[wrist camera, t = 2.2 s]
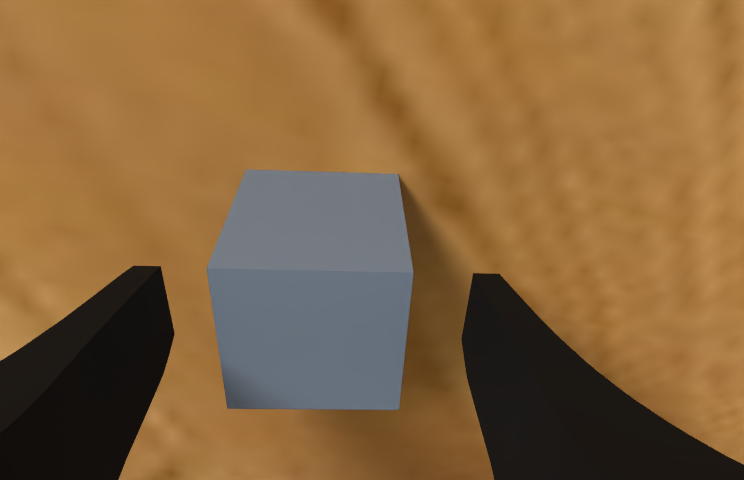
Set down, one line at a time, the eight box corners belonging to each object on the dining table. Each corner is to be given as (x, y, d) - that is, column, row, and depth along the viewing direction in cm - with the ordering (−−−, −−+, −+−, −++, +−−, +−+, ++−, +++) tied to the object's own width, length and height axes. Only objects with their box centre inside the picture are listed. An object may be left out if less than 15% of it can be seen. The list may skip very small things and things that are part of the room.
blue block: (257, 289, 16) (227, 408, 12) (246, 168, 14) (206, 268, 10) (388, 291, 16) (398, 409, 13) (397, 173, 14) (413, 272, 11)
